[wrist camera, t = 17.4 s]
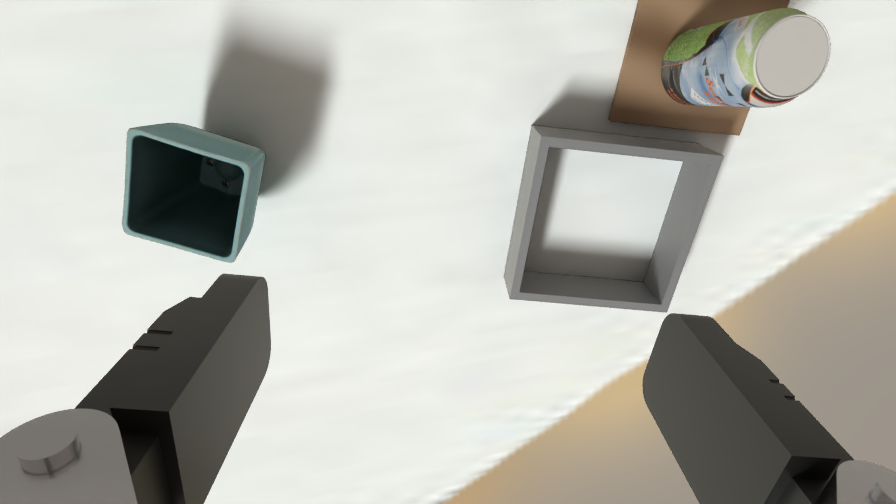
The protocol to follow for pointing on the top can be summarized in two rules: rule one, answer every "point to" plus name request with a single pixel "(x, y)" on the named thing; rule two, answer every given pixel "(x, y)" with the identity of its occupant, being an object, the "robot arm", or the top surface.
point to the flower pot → (190, 189)
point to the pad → (639, 85)
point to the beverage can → (747, 60)
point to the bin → (671, 241)
